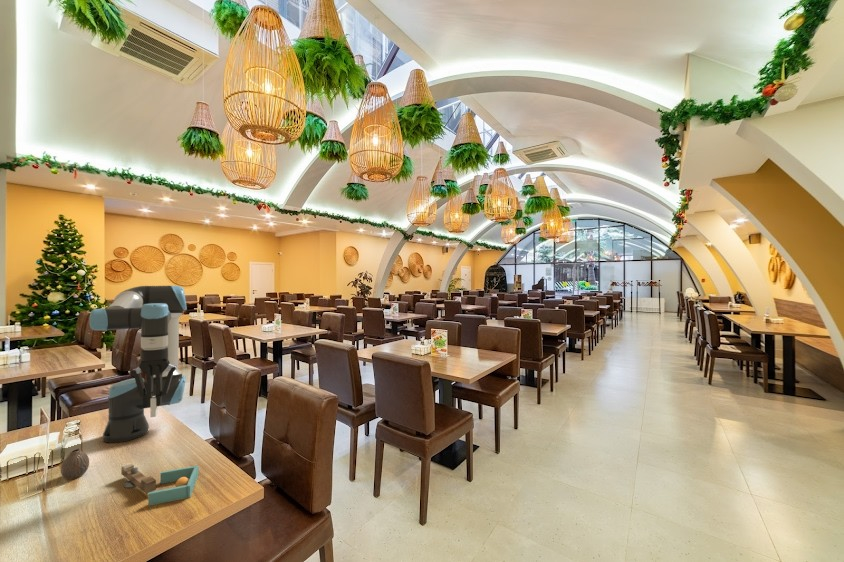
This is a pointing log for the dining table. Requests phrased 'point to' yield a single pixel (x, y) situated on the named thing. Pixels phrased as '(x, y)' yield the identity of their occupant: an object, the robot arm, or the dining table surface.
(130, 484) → the pivot base
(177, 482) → the ball
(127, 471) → the lever
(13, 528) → the dining table surface
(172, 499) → the teal arch
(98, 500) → the dining table surface
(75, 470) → the vase
